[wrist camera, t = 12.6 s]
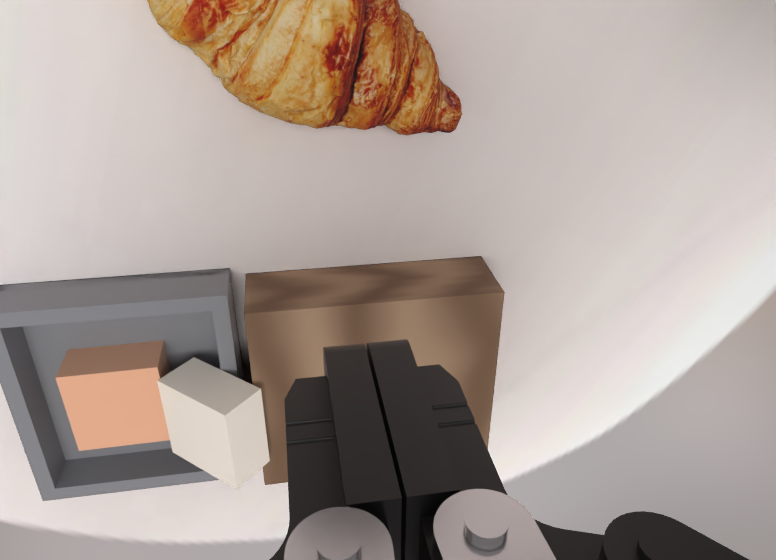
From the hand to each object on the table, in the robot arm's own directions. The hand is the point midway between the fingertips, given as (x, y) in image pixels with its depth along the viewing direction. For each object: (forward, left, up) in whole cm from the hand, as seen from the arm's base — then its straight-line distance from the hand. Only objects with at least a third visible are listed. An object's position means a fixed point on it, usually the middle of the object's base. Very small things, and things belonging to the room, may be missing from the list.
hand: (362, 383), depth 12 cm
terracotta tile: (+13, +20, -25) cm, 35 cm away
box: (+12, +20, -29) cm, 37 cm away
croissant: (0, -3, -30) cm, 30 cm away
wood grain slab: (-4, +20, -29) cm, 35 cm away
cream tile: (+6, +21, -25) cm, 33 cm away
